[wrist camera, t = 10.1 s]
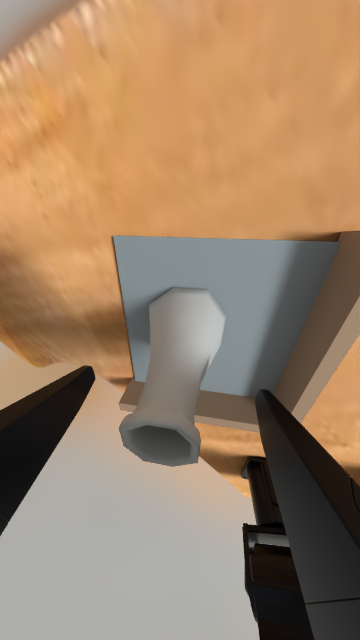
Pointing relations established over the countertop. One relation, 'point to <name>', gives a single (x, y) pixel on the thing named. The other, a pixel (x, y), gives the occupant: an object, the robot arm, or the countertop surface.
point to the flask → (174, 377)
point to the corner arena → (249, 316)
